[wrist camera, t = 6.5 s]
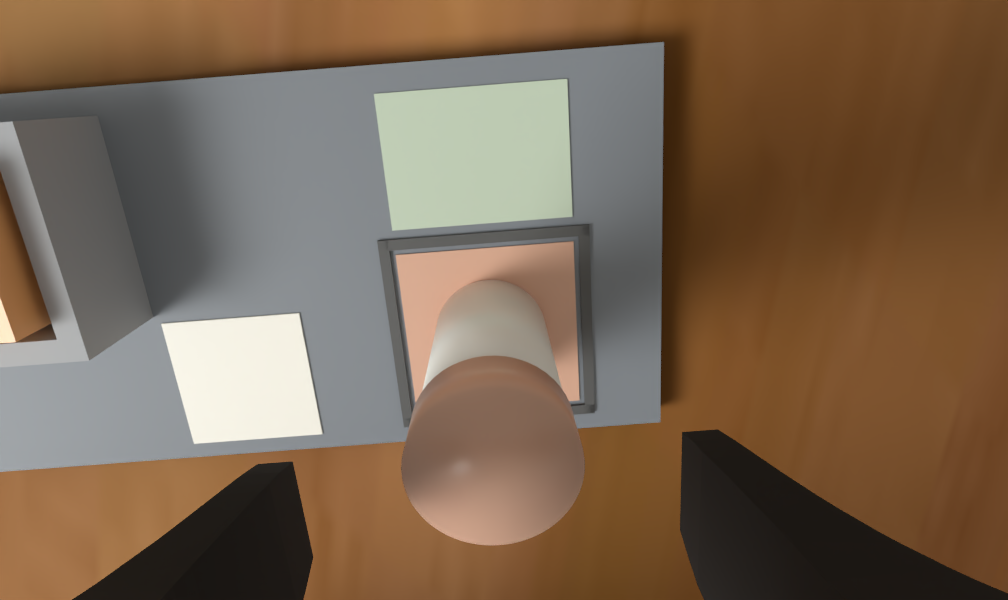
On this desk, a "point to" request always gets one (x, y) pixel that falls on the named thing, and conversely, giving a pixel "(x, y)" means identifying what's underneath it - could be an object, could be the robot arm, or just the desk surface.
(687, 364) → the desk surface
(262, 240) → the grey sorting board
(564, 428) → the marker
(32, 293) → the button
